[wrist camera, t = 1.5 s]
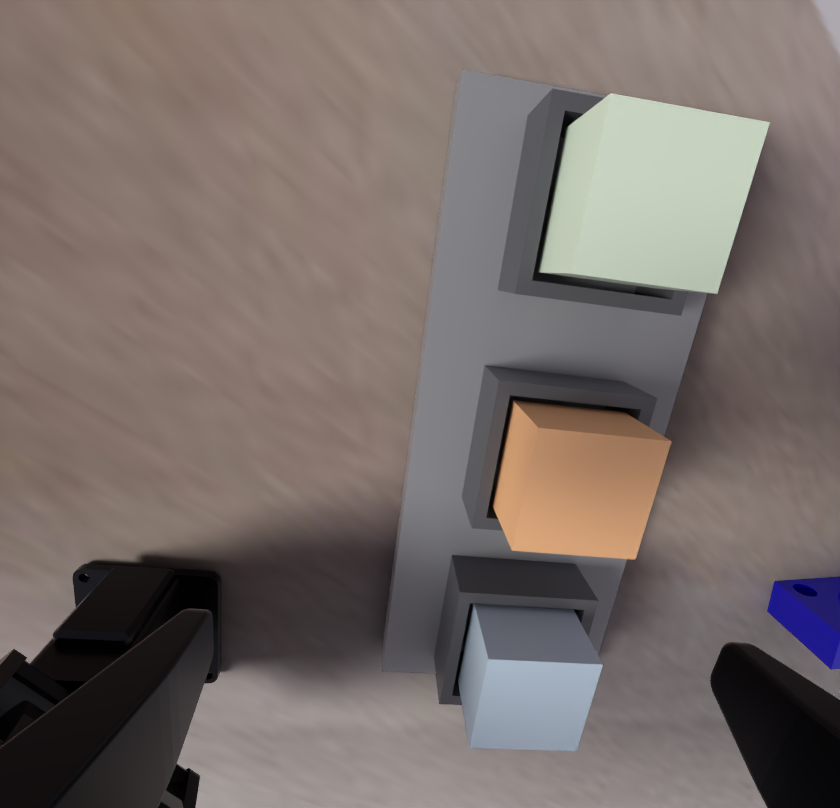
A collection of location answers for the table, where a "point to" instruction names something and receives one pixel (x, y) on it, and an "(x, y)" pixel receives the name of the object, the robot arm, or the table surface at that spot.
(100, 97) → the table surface
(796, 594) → the cable holder
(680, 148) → the sage button
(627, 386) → the button panel
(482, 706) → the blue grey button
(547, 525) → the terracotta button
